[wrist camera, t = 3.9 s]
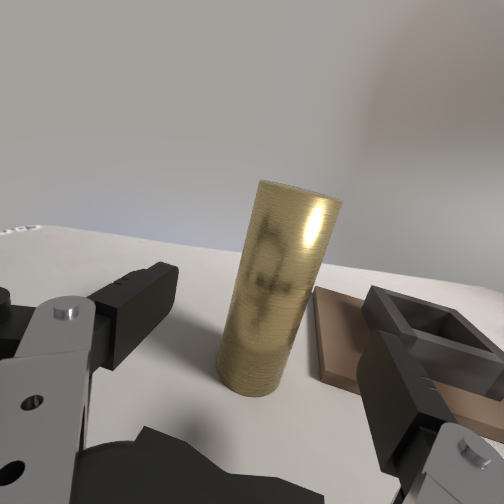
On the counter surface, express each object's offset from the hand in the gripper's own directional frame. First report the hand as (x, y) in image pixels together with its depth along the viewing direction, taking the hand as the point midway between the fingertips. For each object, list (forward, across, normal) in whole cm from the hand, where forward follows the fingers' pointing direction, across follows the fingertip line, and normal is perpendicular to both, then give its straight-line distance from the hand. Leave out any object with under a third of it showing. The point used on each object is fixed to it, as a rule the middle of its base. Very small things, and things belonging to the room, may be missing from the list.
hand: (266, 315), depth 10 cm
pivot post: (+5, 0, +7) cm, 9 cm away
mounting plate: (+13, -14, +7) cm, 20 cm away
